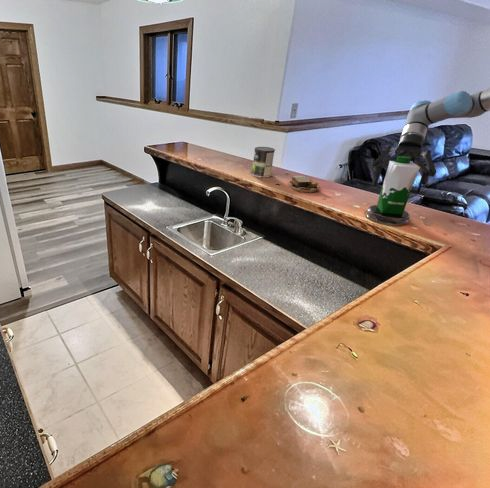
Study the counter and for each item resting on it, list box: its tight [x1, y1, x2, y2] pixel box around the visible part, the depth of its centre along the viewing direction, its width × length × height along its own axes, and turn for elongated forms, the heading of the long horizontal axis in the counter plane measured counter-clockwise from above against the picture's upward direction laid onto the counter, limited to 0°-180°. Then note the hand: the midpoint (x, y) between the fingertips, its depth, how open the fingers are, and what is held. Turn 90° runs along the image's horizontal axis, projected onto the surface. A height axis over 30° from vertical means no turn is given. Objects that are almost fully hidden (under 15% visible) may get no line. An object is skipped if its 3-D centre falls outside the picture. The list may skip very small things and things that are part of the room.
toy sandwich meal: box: [289, 175, 319, 193], centre depth 167 cm, size 12×14×5 cm
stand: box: [365, 204, 411, 228], centre depth 134 cm, size 14×14×4 cm
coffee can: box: [251, 146, 276, 179], centre depth 185 cm, size 10×10×14 cm
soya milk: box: [376, 156, 420, 215], centre depth 128 cm, size 9×9×20 cm
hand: (396, 187), depth 127 cm, fingers open, 13 cm apart
